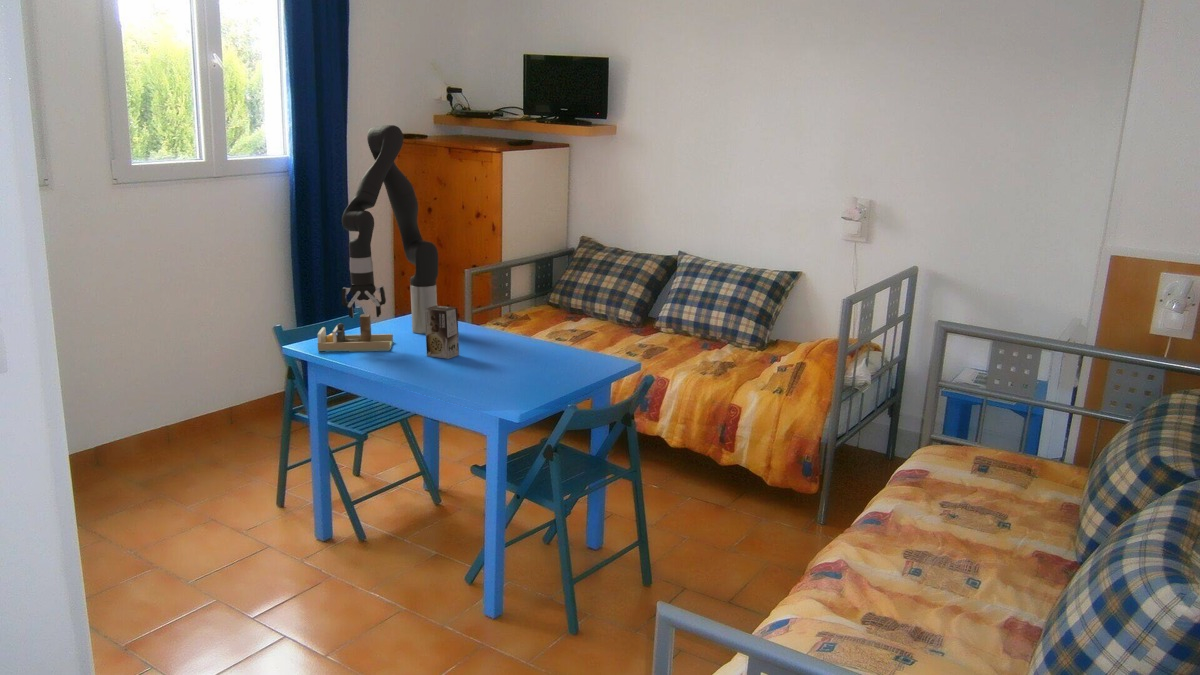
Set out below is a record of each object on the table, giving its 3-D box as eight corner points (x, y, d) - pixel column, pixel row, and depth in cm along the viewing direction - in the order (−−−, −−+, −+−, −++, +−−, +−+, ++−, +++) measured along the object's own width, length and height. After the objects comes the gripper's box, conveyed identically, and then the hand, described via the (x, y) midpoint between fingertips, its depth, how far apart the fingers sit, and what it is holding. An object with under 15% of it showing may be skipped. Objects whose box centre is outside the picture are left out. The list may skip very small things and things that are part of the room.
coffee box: (459, 355, 310) (458, 307, 306) (448, 359, 304) (446, 310, 301) (437, 351, 314) (435, 304, 310) (425, 356, 308) (423, 308, 305)
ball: (332, 329, 319) (325, 338, 319) (330, 332, 315) (323, 341, 315) (342, 337, 320) (334, 345, 320) (340, 340, 316) (332, 348, 316)
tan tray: (393, 342, 326) (392, 333, 325) (389, 350, 315) (389, 341, 314) (323, 343, 323) (323, 335, 323) (318, 352, 312) (317, 343, 312)
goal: (341, 341, 323) (340, 324, 322) (336, 348, 314) (335, 331, 312) (323, 341, 323) (322, 325, 321) (318, 348, 313) (317, 331, 312)
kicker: (371, 340, 322) (370, 313, 320) (369, 344, 317) (368, 317, 314) (339, 341, 321) (338, 314, 319) (337, 345, 315) (335, 317, 313)
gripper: (384, 267, 318) (387, 314, 322) (341, 268, 316) (345, 315, 320) (382, 271, 310) (385, 319, 314) (338, 272, 309) (342, 320, 313)
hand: (365, 317), depth 317 cm, fingers open, 8 cm apart
